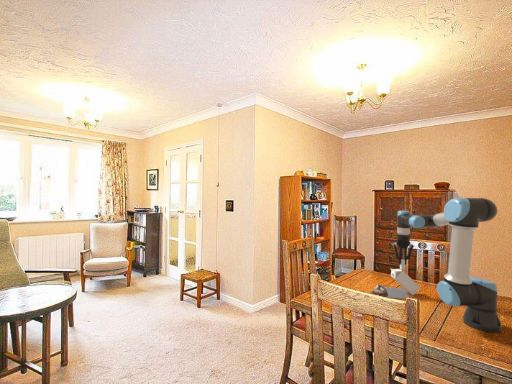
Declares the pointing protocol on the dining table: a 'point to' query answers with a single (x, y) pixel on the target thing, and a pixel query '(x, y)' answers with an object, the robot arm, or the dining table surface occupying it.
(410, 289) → the milk carton
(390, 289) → the mat
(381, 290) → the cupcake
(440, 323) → the dining table surface
